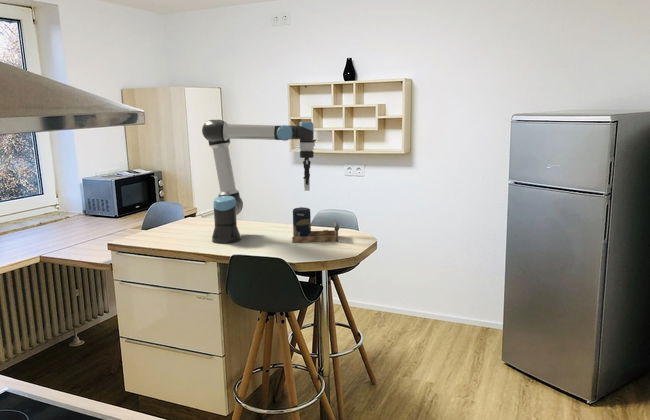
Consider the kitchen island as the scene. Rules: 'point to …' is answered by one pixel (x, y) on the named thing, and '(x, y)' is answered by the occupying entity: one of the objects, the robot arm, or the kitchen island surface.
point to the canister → (301, 222)
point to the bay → (320, 236)
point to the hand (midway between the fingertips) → (306, 189)
